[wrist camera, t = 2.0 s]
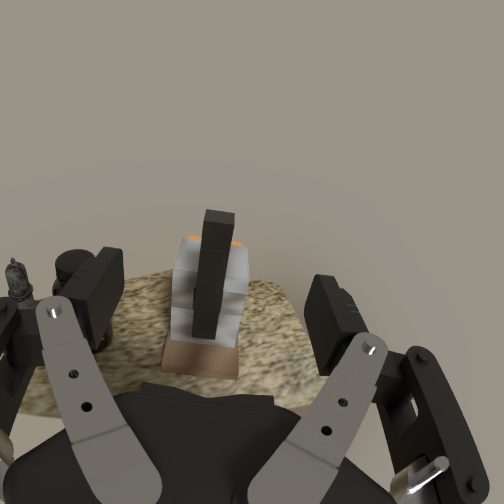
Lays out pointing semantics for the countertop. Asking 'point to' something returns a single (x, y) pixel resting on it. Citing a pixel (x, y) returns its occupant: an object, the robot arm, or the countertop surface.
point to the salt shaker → (20, 286)
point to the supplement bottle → (64, 271)
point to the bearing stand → (182, 308)
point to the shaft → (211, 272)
